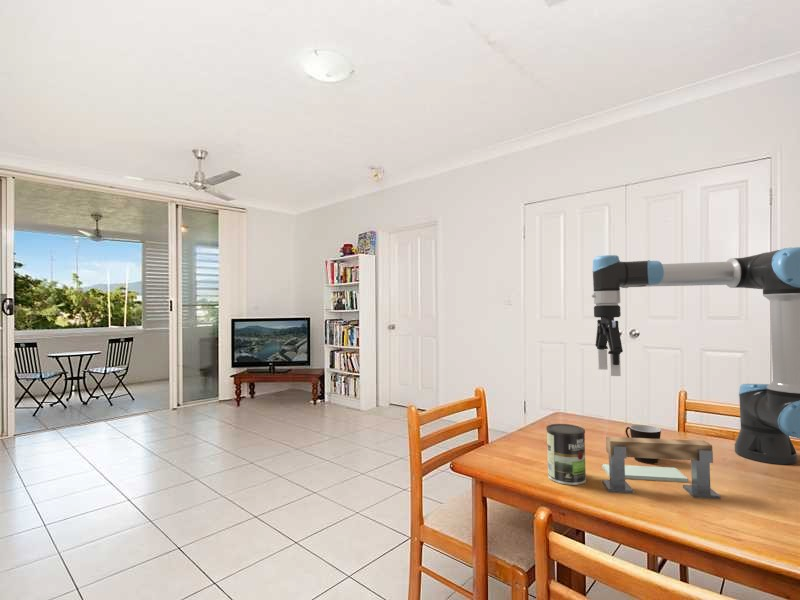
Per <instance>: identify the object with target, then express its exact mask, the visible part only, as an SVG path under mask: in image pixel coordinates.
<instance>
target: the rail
mask: <svg viewBox="0 0 800 600" xmlns="http://www.w3.org/2000/svg"><path fill="white" fill-rule="evenodd" d="M605 441H606V442H605V447H606V448H605V449H606V453H607V454H608V456H609V455H610V456H613V446H626V458H633V459H634V458H654V459H658V460H676V461H677V460H678V461H691V460H694V461H698V449H702V450H712V451H713V445H712V444H711V443H709V442H707V441H705V440H698V439H697V440H696V439H675V438H674V439H671V438H670V439H669V438H660V439H651V438H631V437H630V438H628V437H627V436H626V437H625V436H624V437H622V436H620V437H619V436H605Z"/></svg>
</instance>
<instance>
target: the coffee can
mask: <svg viewBox="0 0 800 600" xmlns="http://www.w3.org/2000/svg"><path fill="white" fill-rule="evenodd" d="M545 428H546V429H545V430H546V442H547V443H546V445H547V446H546V447H547V451H546V453H547V477H548V479H549V480H551V481H553V482H554V483H557V484H561V485H565V486H578V485H583V484H585V483H586V482H587V478H586V477H587V476H586V472H587V471H586V438H585V435H586V430H585V428H583V427H581V426H578V425H574V424H567V423H554V424H548V425H547V426H546V427H545Z"/></svg>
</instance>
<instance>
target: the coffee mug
mask: <svg viewBox="0 0 800 600" xmlns="http://www.w3.org/2000/svg"><path fill="white" fill-rule="evenodd" d="M628 431H629V432H630V436H629V434H628V433H629V432H628ZM661 434H662V429H661V428H660V427H657V426H653V425H647V424H632V425H630V426H627V427H626V428H625V435H626V438H651V439H661ZM633 459H634V460H635V461H637V462H638V463H642V464H647V465H655V464H657V463H658V462H659V459H654V458H633Z"/></svg>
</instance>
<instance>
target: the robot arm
mask: <svg viewBox="0 0 800 600" xmlns="http://www.w3.org/2000/svg"><path fill="white" fill-rule="evenodd" d="M592 282H593V283H592V284H593V294H592V295H591V297H592V298H593V304H595V305H594V306H593V317H594V318H600V319H597V320H596V321H597V326H596V338H595V344H594V345H595V347H596V349H597V367H598V368H597V369H598V370H605V371H606V370H608V355H609V376H610V377H621V375H622V374H621V353H623V351H624V349H623V346H622V340H621V334H620V329H619V321H618V320H615V318H621V315H622V314H621V306H620V305H619V304H621V288H622V289H623V288H624V289H628V288H643V287H644V288H645V287H648V288H649V287H688V286H690V287H692V286H725V285H726V286H727V287H728V288H730V289H733V288H735V289H736V288H740V289H744V288H745V289H755V290H756V289H757V290H762V296H763V297H764V298H766V299H767V300H768V301H769V307H770V308H769V309H770V310H769V311H770V315H769V316H770V334H771V335H770V336H771V338H770V340H771V341H770V342H771V359H772V361H771V365H772V367H771V368H772V382H771V383H743V384H741V385H740V386H739V392H738V397H739V398H738V399H739V417H740V430H739V432H738V435H737V436H736V440H735V443H734V453H735V454H736V455H738V456H740V457H743V458H746V459H749V460H752V461H757V462H761V463H767V464H768V463H769V464H776V465H793V464H797V463H798V454H797V451H796V449H795V446H794V444H793V442H792V439H791V437H792V438H796V439H799V440H800V246H795V247H785V248H781V249H776V250H773V251H768V252H767V251H766V252H762V253H759V254H755V255H750V256H744V257H737V258H736V257H735V258H734V257H733V258H732V257H731V258H729V259H728V260H726V261H715V262H714V261H713V262H707V261H706V262H705V261H704V262H684V263H682V262H680V263H662V262H661V261H660V260H636V261H620V257H619V256H618V255H616V254H609V255H598V256H595V257H594V258H593V260H592ZM607 344H608V345H607ZM608 350H609V351H608Z"/></svg>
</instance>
